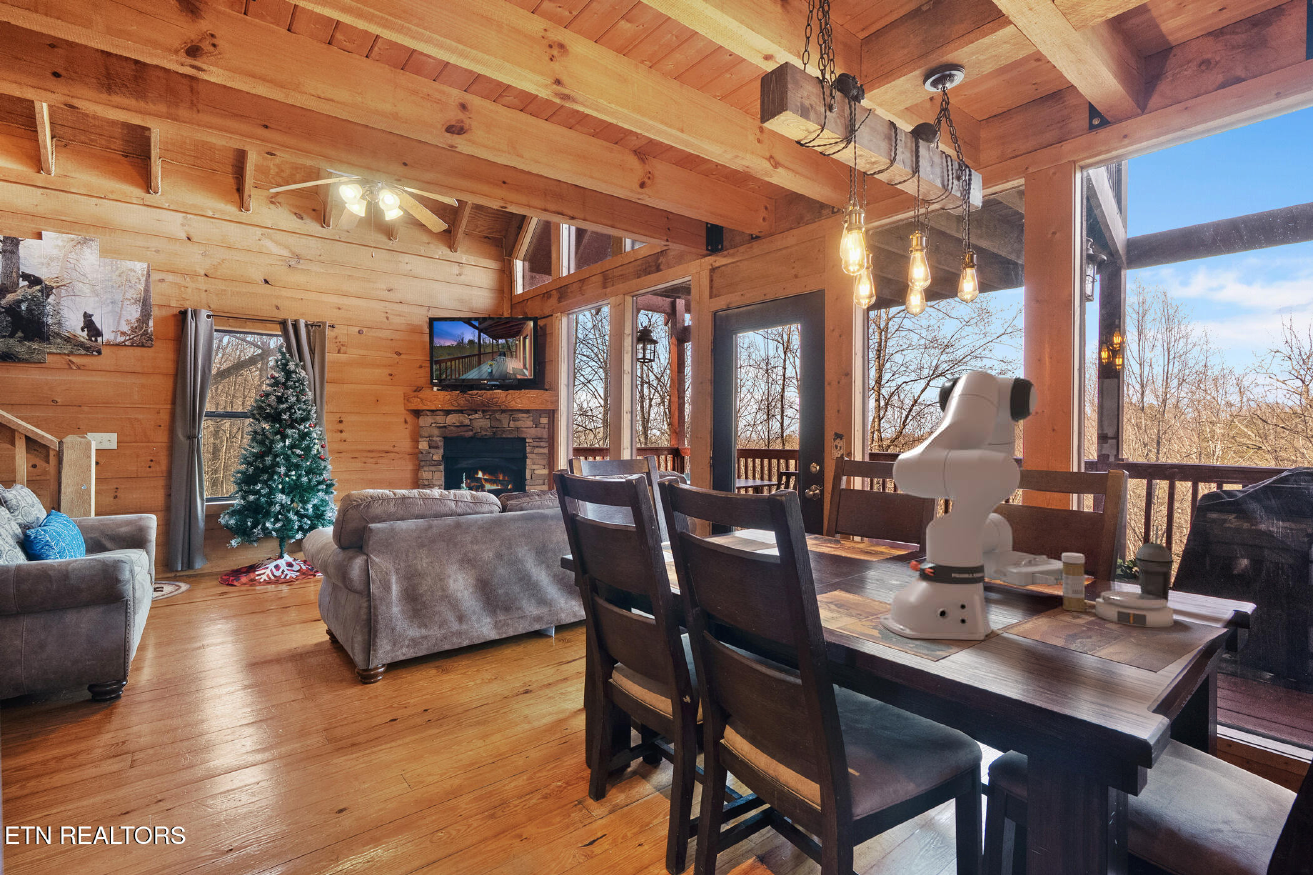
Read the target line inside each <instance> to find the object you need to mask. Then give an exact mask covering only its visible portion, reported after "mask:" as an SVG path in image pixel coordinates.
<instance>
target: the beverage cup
mask: <svg viewBox="0 0 1313 875" xmlns="http://www.w3.org/2000/svg"><path fill="white" fill-rule="evenodd" d="M1158 538H1159V525H1157V524H1156V525H1155V533H1154V542H1148V543H1145V544H1143V545H1141V546H1140V547H1139V548H1138V549H1137V551H1136V554H1135V555H1136V556H1135V560H1136V561H1135V562H1136V566H1137V570H1138V576H1139V586H1140V593H1142V594H1148V595H1152V596H1156V597H1160V598H1163V599H1165V600H1166V601H1167V604H1168V603H1169V596H1170V595H1169V594H1170V593H1169V592H1170V585H1171V584H1170V583H1171V575H1172V572H1171V571H1172V569H1173V564H1174V562H1175V561H1174V557H1173V555H1172V553H1171V551H1170V550H1169V549H1168V548H1167V547H1166V546H1165V545H1163V544H1161V543H1159V542H1158Z"/></svg>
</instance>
